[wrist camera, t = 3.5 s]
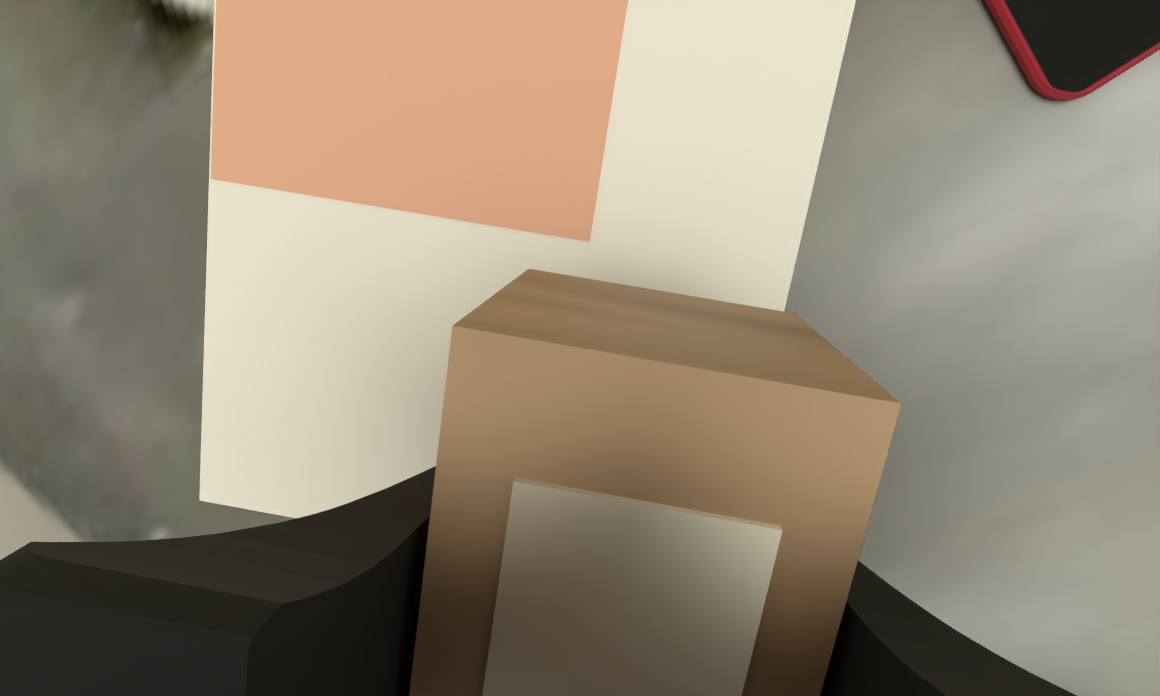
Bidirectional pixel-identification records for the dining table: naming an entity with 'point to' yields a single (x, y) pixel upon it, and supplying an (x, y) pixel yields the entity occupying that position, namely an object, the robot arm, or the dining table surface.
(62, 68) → the dining table surface
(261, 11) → the mat
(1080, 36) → the smartphone
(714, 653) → the card box
